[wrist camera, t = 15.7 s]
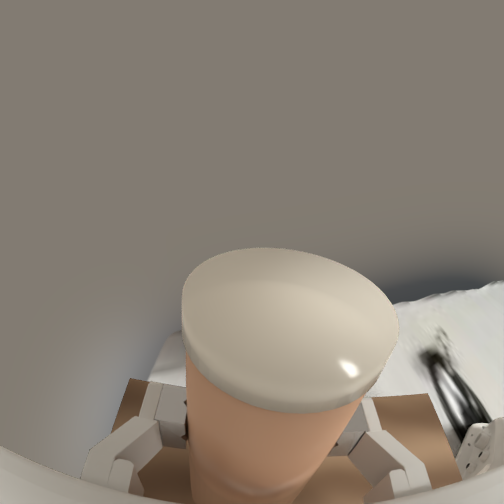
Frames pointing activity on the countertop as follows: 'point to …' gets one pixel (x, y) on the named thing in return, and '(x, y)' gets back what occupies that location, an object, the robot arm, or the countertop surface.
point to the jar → (275, 368)
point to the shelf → (332, 468)
